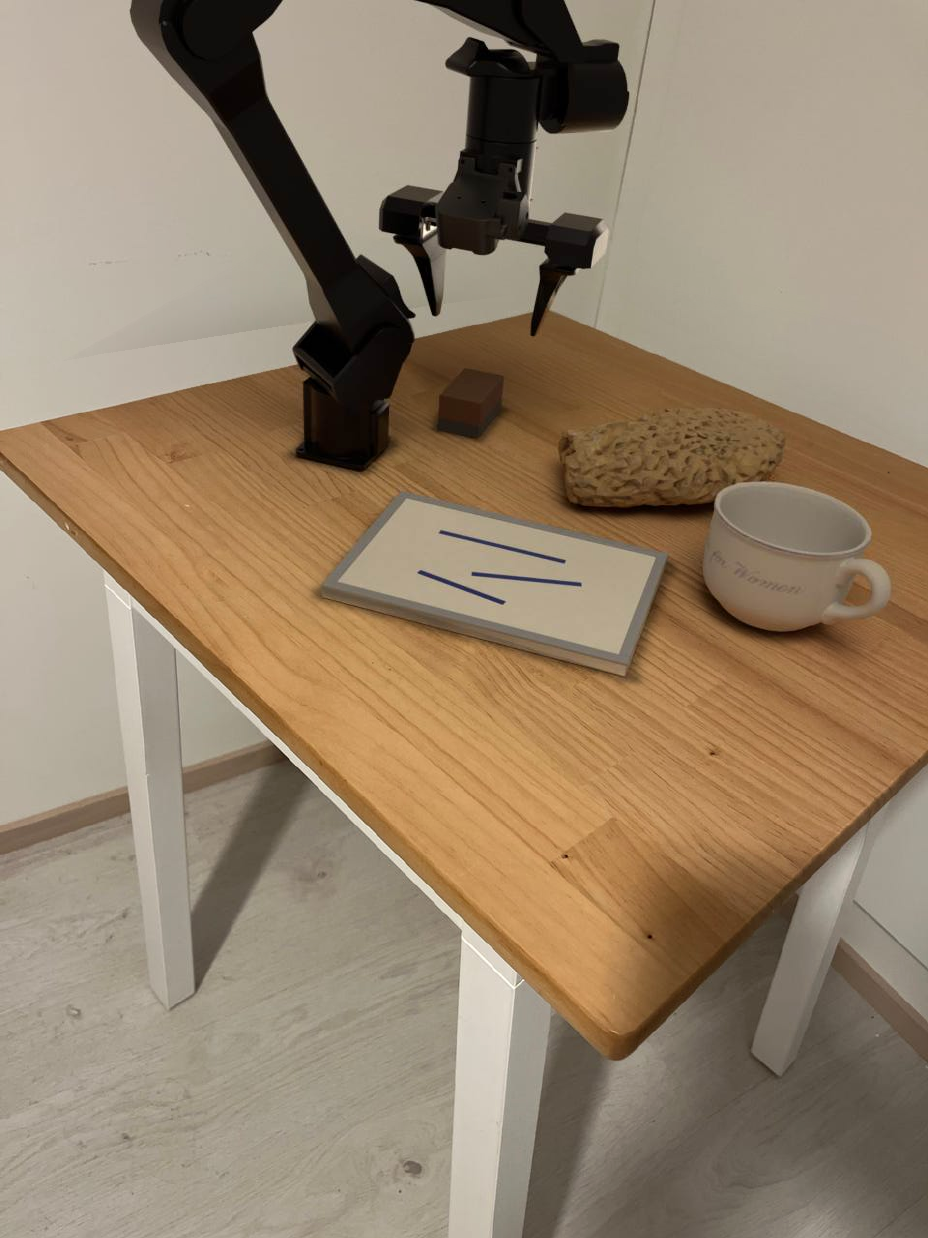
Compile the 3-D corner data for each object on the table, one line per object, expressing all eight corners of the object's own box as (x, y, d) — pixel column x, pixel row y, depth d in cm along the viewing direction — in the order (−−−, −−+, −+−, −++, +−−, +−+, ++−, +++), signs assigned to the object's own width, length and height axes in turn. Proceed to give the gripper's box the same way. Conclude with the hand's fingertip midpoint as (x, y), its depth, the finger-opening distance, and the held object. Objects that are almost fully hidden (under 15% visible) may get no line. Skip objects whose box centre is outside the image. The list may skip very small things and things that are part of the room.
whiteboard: (321, 597, 76) (321, 583, 75) (400, 502, 88) (401, 490, 87) (625, 677, 71) (628, 663, 70) (666, 565, 82) (669, 552, 82)
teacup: (665, 579, 81) (685, 485, 76) (781, 556, 85) (807, 466, 80) (777, 692, 71) (809, 591, 66) (904, 660, 75) (942, 563, 70)
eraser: (437, 429, 99) (439, 394, 97) (461, 401, 104) (464, 367, 102) (478, 438, 98) (481, 403, 96) (501, 409, 103) (504, 375, 101)
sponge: (573, 540, 87) (820, 504, 86) (563, 447, 84) (820, 409, 83) (557, 489, 99) (774, 457, 98) (547, 406, 95) (772, 372, 95)
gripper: (352, 135, 82) (349, 333, 91) (588, 174, 77) (560, 378, 86) (408, 112, 91) (400, 295, 100) (623, 146, 86) (594, 334, 95)
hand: (484, 324), depth 95 cm, fingers open, 9 cm apart
